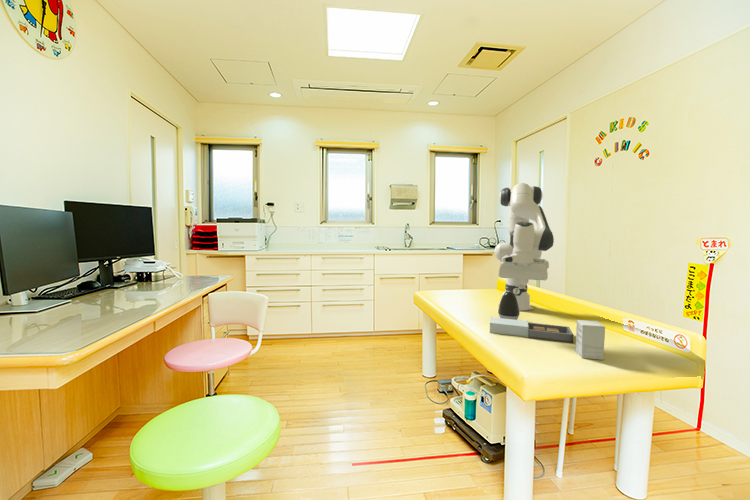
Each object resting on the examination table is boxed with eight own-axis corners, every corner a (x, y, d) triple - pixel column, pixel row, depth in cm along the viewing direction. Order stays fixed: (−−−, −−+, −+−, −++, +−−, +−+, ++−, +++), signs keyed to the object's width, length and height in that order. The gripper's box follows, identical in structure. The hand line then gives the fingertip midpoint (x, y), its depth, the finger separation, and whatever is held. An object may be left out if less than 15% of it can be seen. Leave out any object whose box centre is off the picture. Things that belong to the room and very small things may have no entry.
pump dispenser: (515, 318, 174) (516, 289, 172) (522, 323, 163) (523, 293, 162) (495, 317, 175) (496, 289, 173) (501, 323, 164) (502, 293, 163)
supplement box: (596, 353, 126) (598, 320, 125) (603, 360, 119) (605, 326, 118) (574, 350, 128) (576, 319, 127) (580, 358, 121) (582, 324, 120)
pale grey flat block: (490, 326, 159) (490, 317, 159) (526, 330, 153) (527, 320, 153) (489, 332, 150) (489, 322, 149) (528, 337, 144) (528, 326, 143)
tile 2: (557, 328, 145) (557, 334, 146) (546, 327, 147) (546, 333, 147) (559, 331, 141) (559, 337, 141) (547, 330, 143) (547, 336, 143)
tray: (526, 329, 154) (527, 322, 154) (568, 334, 147) (568, 326, 147) (528, 337, 143) (528, 329, 142) (573, 343, 136) (573, 334, 136)
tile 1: (533, 331, 149) (533, 326, 149) (544, 332, 147) (544, 327, 147) (533, 334, 145) (534, 329, 145) (545, 336, 143) (545, 330, 143)
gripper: (548, 258, 146) (546, 289, 147) (499, 256, 154) (498, 285, 155) (549, 260, 140) (548, 292, 141) (498, 258, 148) (497, 288, 149)
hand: (521, 288), depth 148 cm, fingers closed
